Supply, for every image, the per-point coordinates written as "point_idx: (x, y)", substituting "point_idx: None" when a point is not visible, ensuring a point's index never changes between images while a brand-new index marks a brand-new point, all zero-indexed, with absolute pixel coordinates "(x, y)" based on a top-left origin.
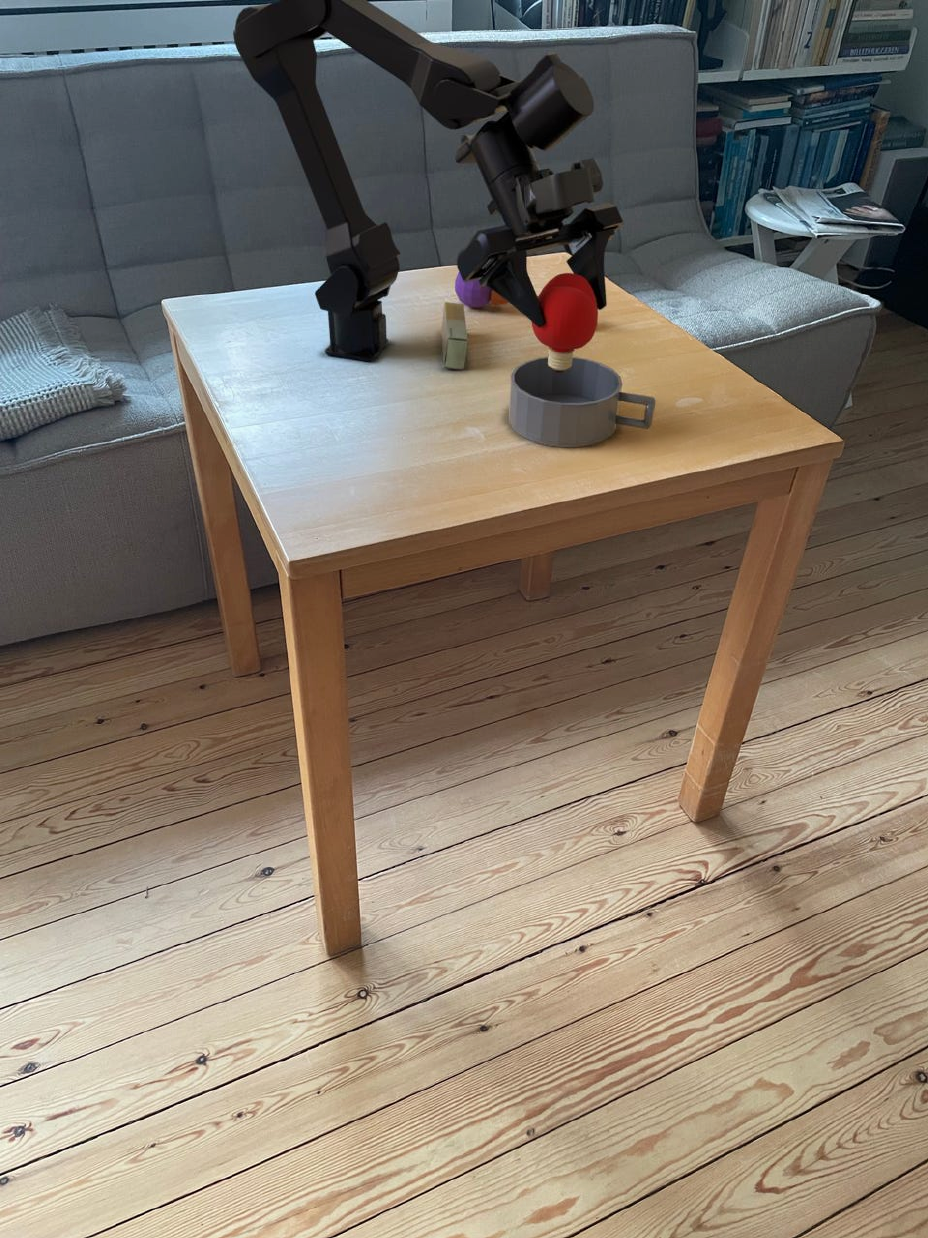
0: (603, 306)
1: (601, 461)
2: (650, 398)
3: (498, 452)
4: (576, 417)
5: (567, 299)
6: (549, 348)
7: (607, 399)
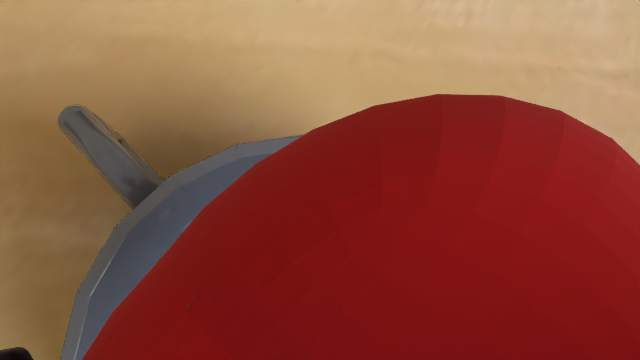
0: (27, 352)
1: (340, 82)
2: (78, 112)
3: None
4: None
5: (576, 148)
6: None
7: (251, 142)
